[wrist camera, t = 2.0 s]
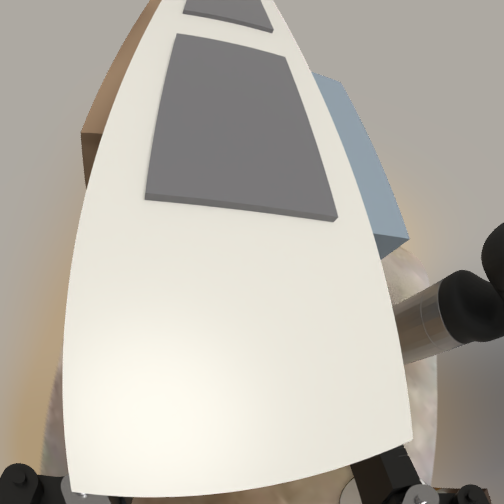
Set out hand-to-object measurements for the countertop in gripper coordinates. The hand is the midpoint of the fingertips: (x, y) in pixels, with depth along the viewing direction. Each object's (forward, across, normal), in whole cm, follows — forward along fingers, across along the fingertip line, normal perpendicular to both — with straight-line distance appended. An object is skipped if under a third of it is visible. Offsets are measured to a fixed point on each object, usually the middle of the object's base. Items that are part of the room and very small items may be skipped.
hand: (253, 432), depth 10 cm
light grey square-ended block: (+5, +4, -12) cm, 14 cm away
